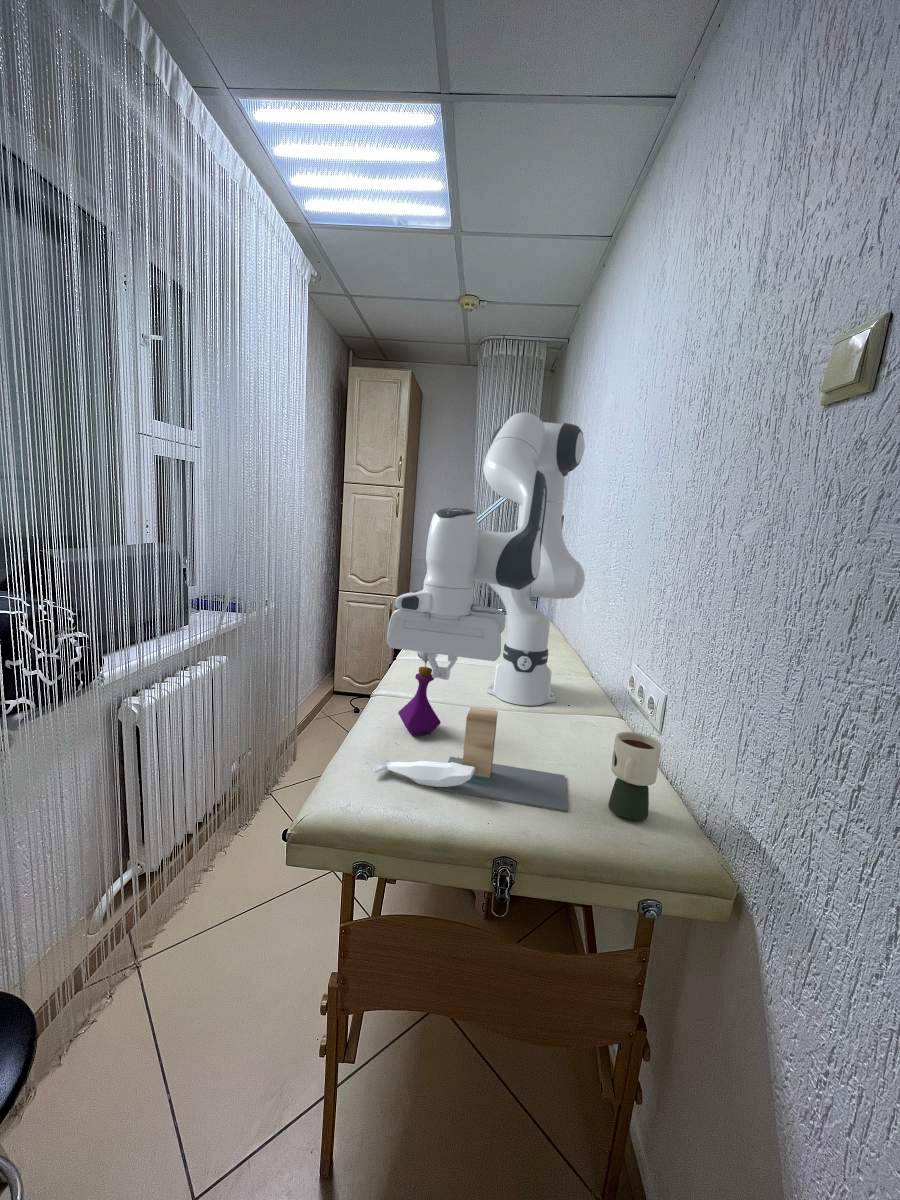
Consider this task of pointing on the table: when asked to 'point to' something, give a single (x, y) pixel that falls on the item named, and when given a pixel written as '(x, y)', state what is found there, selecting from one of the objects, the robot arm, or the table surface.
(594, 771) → the table surface
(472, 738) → the oak block
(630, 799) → the character mug
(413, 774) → the white fish figurine
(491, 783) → the rubber mat
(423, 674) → the perfume bottle
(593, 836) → the table surface
